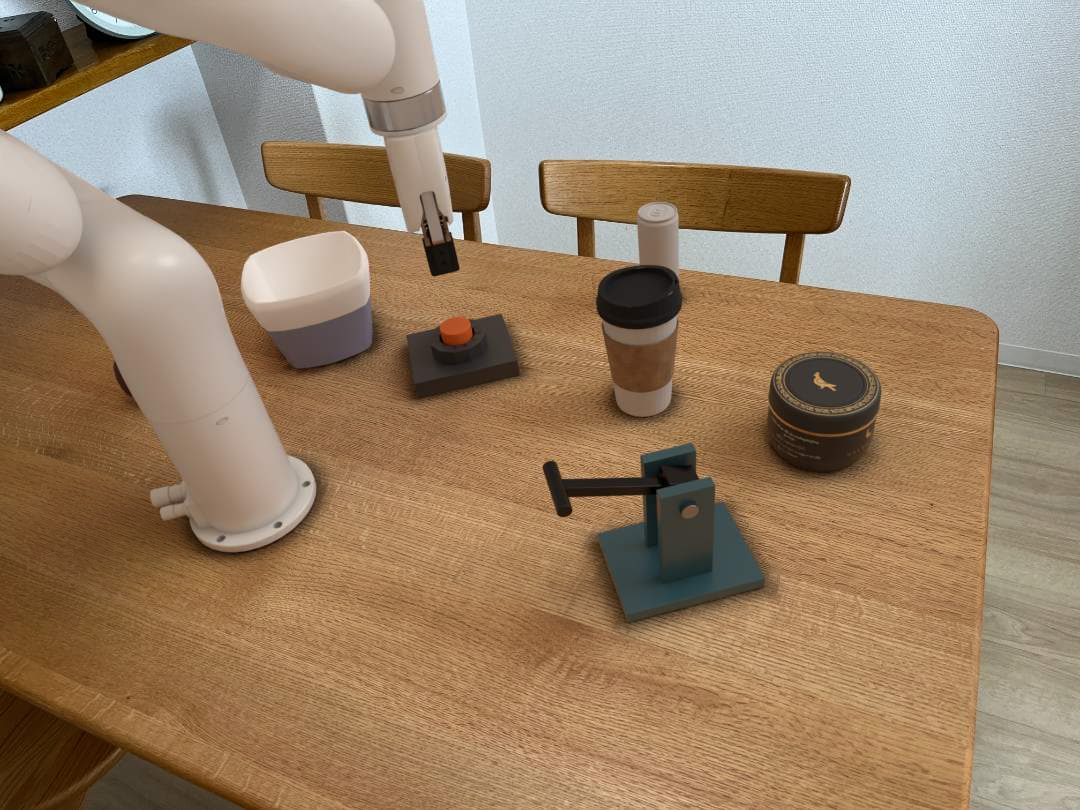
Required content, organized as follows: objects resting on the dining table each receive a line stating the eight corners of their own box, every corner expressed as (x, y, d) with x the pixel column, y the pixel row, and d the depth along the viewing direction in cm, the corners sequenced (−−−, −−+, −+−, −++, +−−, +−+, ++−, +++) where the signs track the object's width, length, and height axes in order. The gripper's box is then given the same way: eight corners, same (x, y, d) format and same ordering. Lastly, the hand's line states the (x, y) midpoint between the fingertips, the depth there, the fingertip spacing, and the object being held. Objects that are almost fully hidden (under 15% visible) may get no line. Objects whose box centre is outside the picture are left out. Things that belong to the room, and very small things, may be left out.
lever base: (627, 623, 67) (619, 530, 59) (598, 541, 74) (587, 449, 66) (764, 587, 68) (774, 491, 60) (723, 510, 75) (727, 415, 67)
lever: (554, 523, 60) (560, 500, 59) (539, 477, 64) (545, 454, 62) (699, 518, 63) (709, 496, 62) (678, 474, 67) (686, 453, 66)
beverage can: (684, 289, 103) (683, 203, 95) (672, 310, 99) (670, 223, 92) (647, 284, 104) (644, 199, 97) (635, 304, 101) (630, 218, 94)
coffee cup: (680, 427, 84) (678, 307, 74) (599, 423, 86) (587, 305, 76) (685, 375, 90) (685, 258, 80) (610, 373, 92) (600, 258, 82)
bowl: (377, 294, 111) (356, 221, 103) (398, 355, 99) (375, 278, 92) (265, 325, 108) (235, 252, 101) (273, 392, 97) (240, 315, 89)
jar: (839, 493, 74) (850, 433, 70) (745, 449, 80) (748, 390, 75) (889, 432, 80) (902, 372, 75) (796, 395, 85) (803, 336, 80)
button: (444, 349, 93) (441, 337, 92) (440, 332, 96) (437, 320, 94) (475, 342, 93) (472, 330, 92) (470, 325, 96) (467, 313, 95)
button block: (418, 398, 92) (410, 371, 90) (410, 349, 100) (402, 322, 97) (520, 375, 93) (515, 347, 91) (504, 327, 101) (499, 301, 98)
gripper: (362, 87, 82) (405, 245, 94) (370, 144, 71) (418, 315, 83) (434, 72, 83) (468, 231, 95) (454, 126, 71) (489, 298, 83)
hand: (444, 269), depth 89 cm, fingers closed
